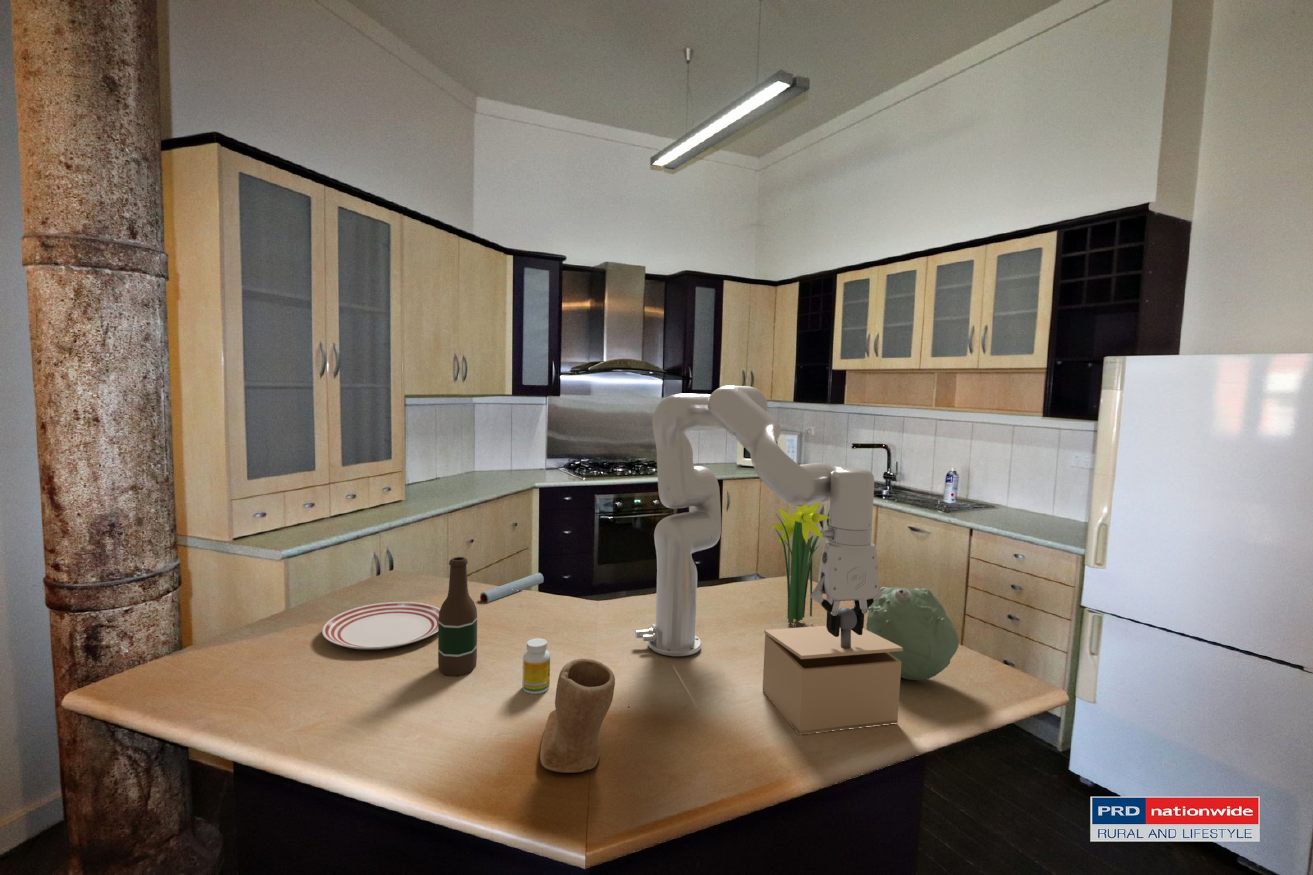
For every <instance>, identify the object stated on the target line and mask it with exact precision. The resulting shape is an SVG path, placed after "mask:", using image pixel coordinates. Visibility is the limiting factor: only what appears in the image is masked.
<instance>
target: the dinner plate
mask: <svg viewBox="0 0 1313 875" xmlns="http://www.w3.org/2000/svg"><path fill="white" fill-rule="evenodd" d="M440 609H441V607H437V606H435V605H432V604H427V603H425V602H424V603H423V602H414V601H390V602H379V603H372V604H367V605H362V606H357V607H354V608H351V609H349V610H345V611H344V612H342V613H339V614H337V615H335V616H334V617H331V618H330V619H328V620H327V622H326V623H325V624H323V627H322V629H321V635H322V636H323V637H324V638H325V639H326V640H327V641H329V642H330V643H332V644H335V645H337V646H341V647H345V648H348V649H355V650H383V649H391V648H397V647H401V646H406V645H410V644H412V643H416V642H419V641H422V640H425V639H427V638H429V637H431V636H433V635H434V634H437V633H438V620H439V611H440Z"/></svg>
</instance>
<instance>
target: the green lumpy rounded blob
mask: <svg viewBox="0 0 1313 875" xmlns="http://www.w3.org/2000/svg"><path fill="white" fill-rule="evenodd" d="M879 589H880V591H881V593H882V595H881V597H879V598H878V599H877V600H875V601H874V602H873V604H872V605H871V606H870V607H869V608H868V612H867V617H866V623H865V624H866V625H865V627H866V630H868V631H870V632H872V633H874V634H876V635H878V636H880V637H882V638H884V639H886V640H888V641H890V642H892V643H894V644H896V645H898V646H900V647H902V648H903V651H896V652H888V653H890V654H891V655H893V656H894V657H895V658H897V659H898V660H900V661H901V662H902V663H901V678H903V679H904V680H908V681H920V680H929V679H931V678H934V677H936V676H937V675H938V674H940V673H941V672H943V671H944V669H946V668H948V666H949V665H950V663H951V660H952V659H953V657H954V656H955V654H956V653H957V651H958V648H959V645H960V644H959V643H960V640H959V637H958V633H957V630H956V629H955V628H954V625H953V623H952V621H951V619H950V618H949V616H948V614H947V613H946V610H945V608H944V606H943V605H942V603H941V602H940V600H939V599H938V598H937V597H936V595H934V593H933V592H932V591H931V590H930V589H929V588H918V587H915V588H909V587H906V586H904V587H900V586H893V587H891V586H890V587H887V586H883V587H879Z"/></svg>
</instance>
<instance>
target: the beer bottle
mask: <svg viewBox="0 0 1313 875" xmlns="http://www.w3.org/2000/svg"><path fill="white" fill-rule="evenodd" d="M468 563H469V562H468V558H466V557H464V556H456V557H452V558H451V559H450V560H449V562H448V565H449V566H450V570H449V580H448V592H447V596H446V598H445V599H444V601H443V603H442V604H441V607H440V611H439V620H438V632H437V633H438V634H437V635H438V636H437V638H438V642H437V647H438V648H437V659H438V660H437V664H438V665H437V666H438V671H439V673H441V674H442V675H443V676H444V677H456V678H457V677H462V676H465V675H467V674H470V673H472V672H473V671H474V669H475V668H476V666H477V660H478V659H477V658H478V610H477V609H478V608H477V605H476V604H475V601H474V600H473V599H472V598H471V596H470V593H469V588H468V571H467V569H468V568H467V565H468Z"/></svg>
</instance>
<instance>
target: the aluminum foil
mask: <svg viewBox="0 0 1313 875" xmlns="http://www.w3.org/2000/svg"><path fill="white" fill-rule="evenodd" d="M544 581H545V580H544V576H543V574H542V573H541V572H537V573H533V574H531V575H527V576H526V577H523V578H520V579H516V580H513V581H511V582H508V583H505V584H502V585H499V586H497V587H494V588H490V589H488V590H485V591H482V592H481V593H480V595H479V599H480V601H481V602H485V603H486V604H488V603H491V602H493V601H497V600H499V599H502V598H504V597H508V596H509V595H513V594H516V593H519V592H521V591H524V590H527V589H530V588H532V587H535V586H537V585H540V584H543V583H544ZM512 589H513V590H512ZM517 590H520V591H517Z"/></svg>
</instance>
